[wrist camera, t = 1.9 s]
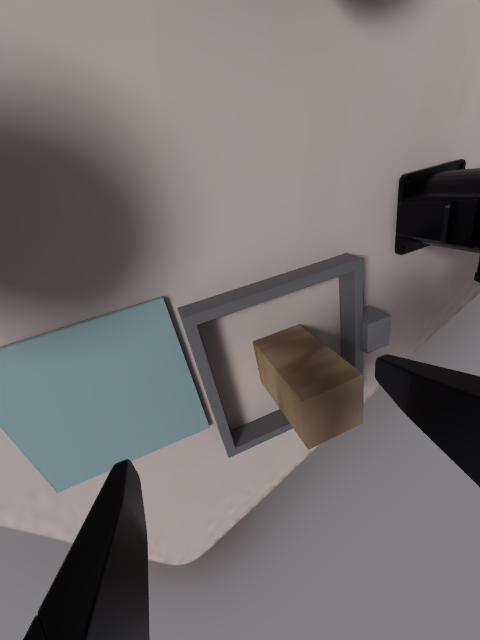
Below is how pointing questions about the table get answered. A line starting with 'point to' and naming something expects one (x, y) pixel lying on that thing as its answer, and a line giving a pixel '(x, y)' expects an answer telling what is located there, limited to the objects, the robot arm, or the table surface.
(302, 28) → the table surface
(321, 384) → the walnut plug block
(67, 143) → the table surface
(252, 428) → the gray rectangular frame
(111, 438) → the rubber mat
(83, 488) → the table surface
